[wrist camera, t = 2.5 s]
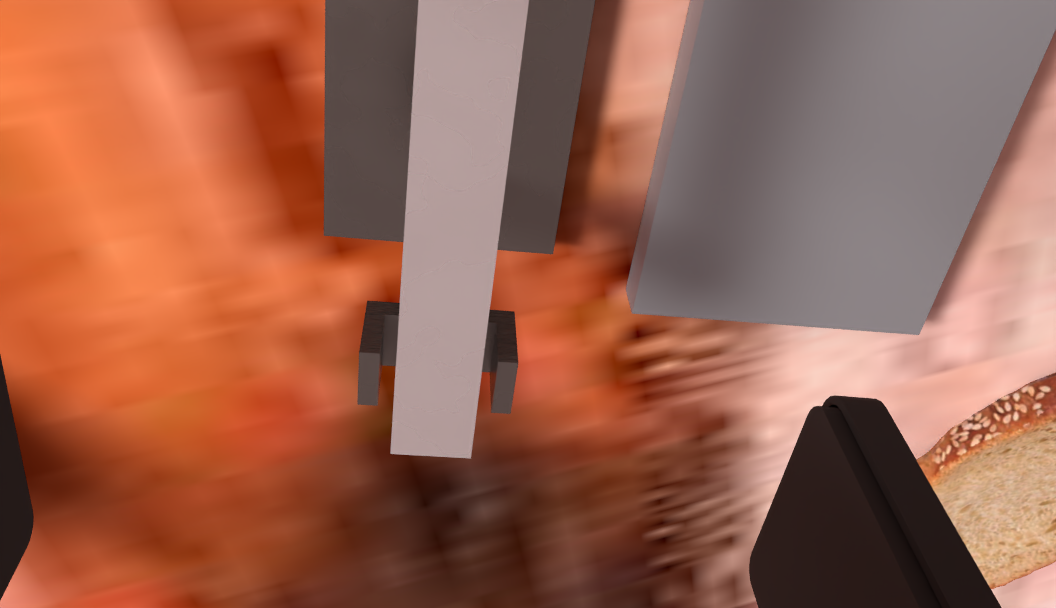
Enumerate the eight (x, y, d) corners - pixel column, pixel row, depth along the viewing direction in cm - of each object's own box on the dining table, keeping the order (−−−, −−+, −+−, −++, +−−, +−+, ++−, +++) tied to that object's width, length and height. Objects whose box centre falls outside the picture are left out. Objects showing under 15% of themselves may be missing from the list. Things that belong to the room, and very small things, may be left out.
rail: (585, -539, 18) (600, -566, 16) (470, 406, 31) (470, 458, 29) (456, -563, 18) (455, -594, 16) (395, 401, 31) (390, 453, 29)
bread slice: (843, 593, 59) (864, 645, 56) (881, 373, 49) (909, 420, 46) (1126, 566, 59) (1162, 616, 56) (1223, 339, 49) (1274, 385, 46)
